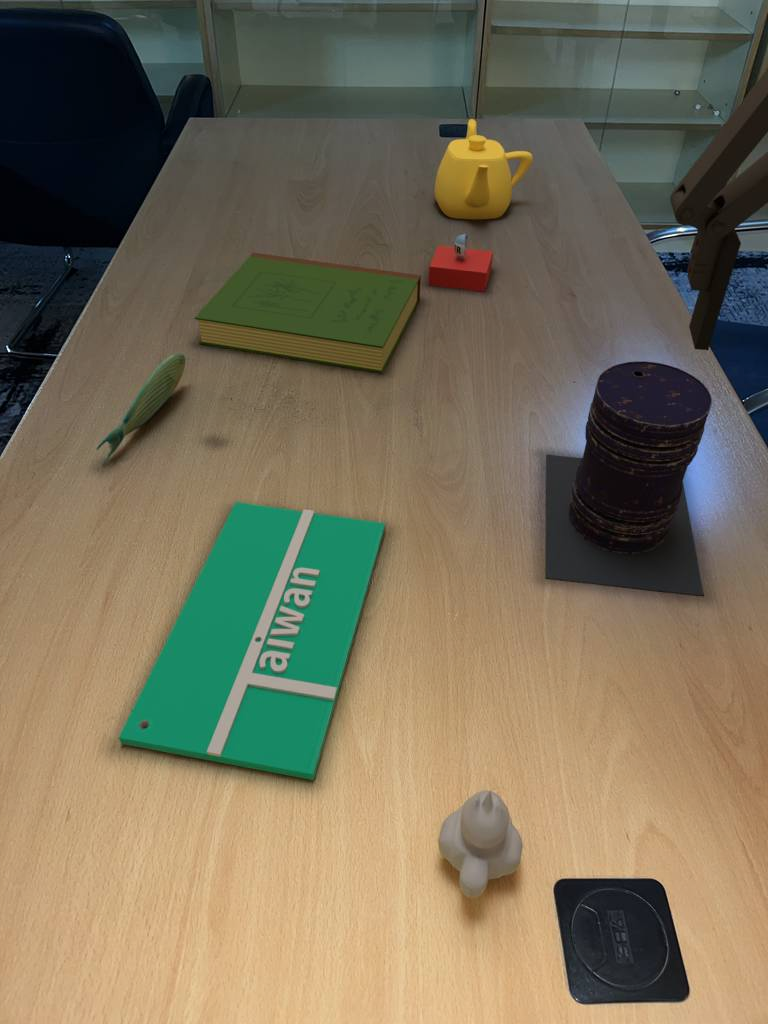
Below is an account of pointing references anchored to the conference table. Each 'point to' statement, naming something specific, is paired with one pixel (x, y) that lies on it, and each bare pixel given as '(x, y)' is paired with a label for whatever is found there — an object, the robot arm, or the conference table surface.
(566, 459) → the mat
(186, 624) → the sign
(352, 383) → the conference table surface
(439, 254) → the red rectangular block
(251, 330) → the book
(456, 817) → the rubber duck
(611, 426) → the rusty barrel
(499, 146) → the teapot
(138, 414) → the decorative fish
